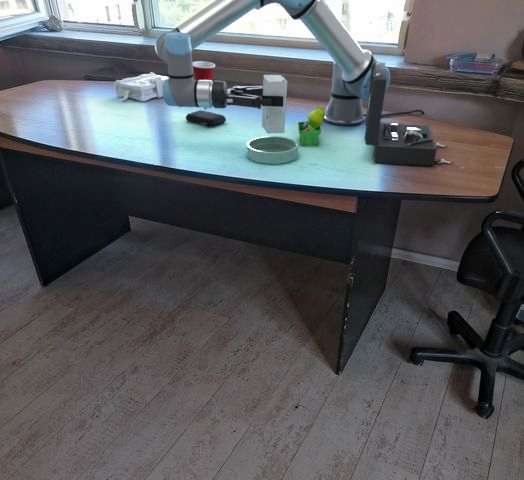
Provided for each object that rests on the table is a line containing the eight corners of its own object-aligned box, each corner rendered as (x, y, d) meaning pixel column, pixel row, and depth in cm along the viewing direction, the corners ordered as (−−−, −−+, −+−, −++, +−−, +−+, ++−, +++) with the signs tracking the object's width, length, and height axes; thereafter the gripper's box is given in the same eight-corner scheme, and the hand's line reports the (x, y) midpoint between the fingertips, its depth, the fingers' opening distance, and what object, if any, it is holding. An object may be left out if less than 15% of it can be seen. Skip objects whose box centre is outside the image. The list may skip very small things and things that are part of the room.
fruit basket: (297, 136, 174) (298, 102, 166) (321, 136, 174) (324, 102, 166) (297, 146, 165) (299, 111, 158) (323, 147, 165) (326, 111, 158)
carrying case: (181, 122, 186) (209, 129, 180) (180, 114, 184) (209, 121, 178) (200, 116, 193) (228, 123, 186) (199, 108, 191) (228, 114, 184)
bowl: (299, 149, 163) (300, 137, 161) (294, 166, 151) (295, 154, 148) (251, 146, 165) (251, 135, 162) (242, 163, 152) (242, 151, 150)
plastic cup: (207, 96, 218) (205, 66, 210) (188, 93, 222) (186, 63, 215) (221, 91, 225) (220, 62, 217) (202, 88, 229) (201, 60, 222)
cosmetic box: (261, 126, 155) (261, 74, 145) (279, 125, 156) (280, 73, 146) (267, 134, 149) (267, 80, 139) (286, 133, 150) (288, 79, 140)
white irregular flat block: (106, 98, 215) (102, 79, 210) (151, 87, 232) (149, 68, 227) (136, 105, 206) (132, 85, 201) (181, 92, 224) (179, 74, 219)
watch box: (451, 168, 150) (474, 80, 134) (360, 162, 153) (372, 76, 137) (442, 142, 169) (461, 62, 153) (362, 138, 173) (372, 59, 157)
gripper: (221, 99, 159) (289, 101, 157) (205, 117, 143) (280, 120, 140) (220, 73, 154) (289, 75, 152) (203, 89, 138) (281, 92, 135)
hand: (285, 97), depth 146 cm, fingers closed on cosmetic box, 9 cm apart
